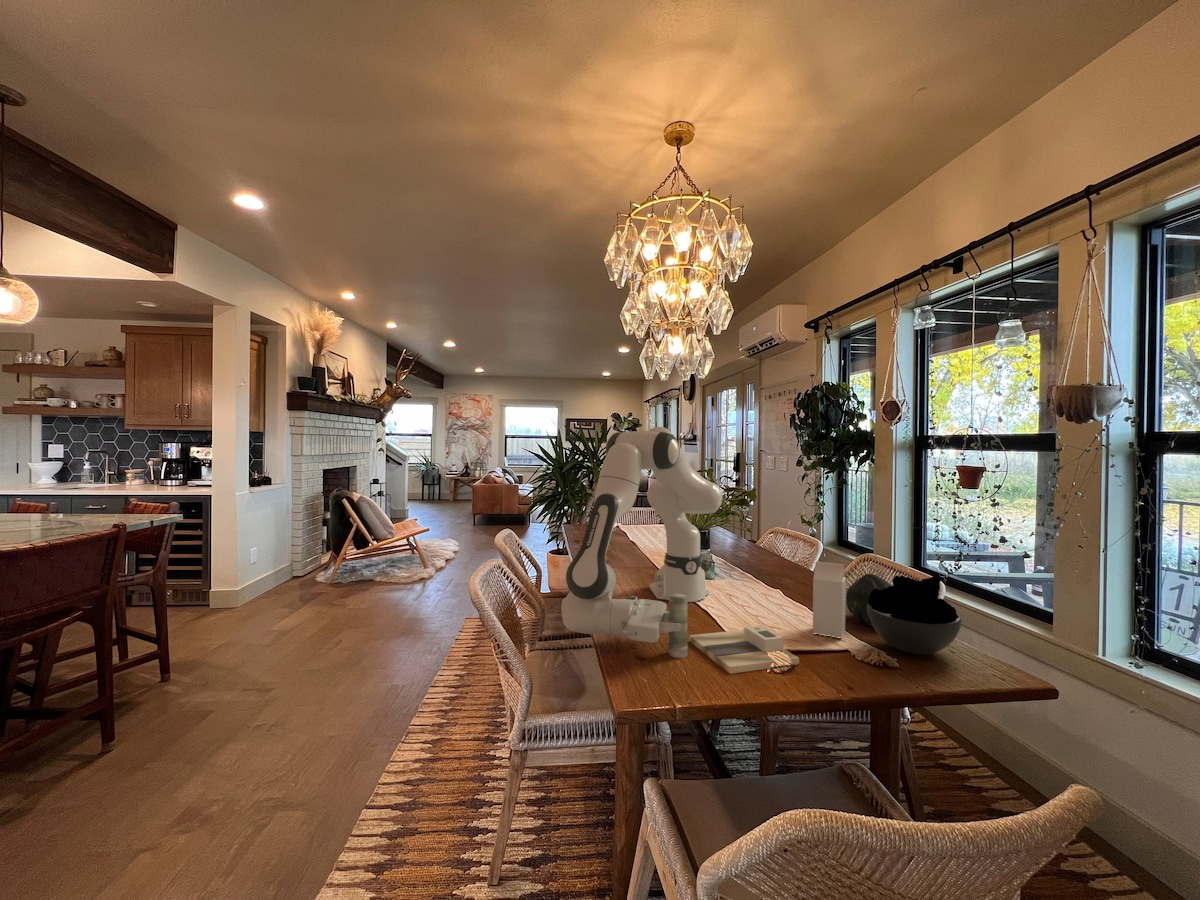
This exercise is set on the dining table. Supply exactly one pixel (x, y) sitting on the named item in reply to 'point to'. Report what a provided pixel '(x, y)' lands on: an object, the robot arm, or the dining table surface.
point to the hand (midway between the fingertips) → (681, 622)
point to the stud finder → (763, 638)
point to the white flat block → (734, 651)
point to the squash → (863, 595)
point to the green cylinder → (679, 614)
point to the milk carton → (829, 599)
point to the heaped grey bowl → (913, 615)
